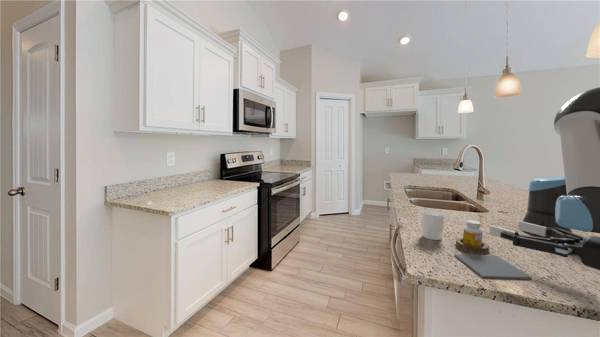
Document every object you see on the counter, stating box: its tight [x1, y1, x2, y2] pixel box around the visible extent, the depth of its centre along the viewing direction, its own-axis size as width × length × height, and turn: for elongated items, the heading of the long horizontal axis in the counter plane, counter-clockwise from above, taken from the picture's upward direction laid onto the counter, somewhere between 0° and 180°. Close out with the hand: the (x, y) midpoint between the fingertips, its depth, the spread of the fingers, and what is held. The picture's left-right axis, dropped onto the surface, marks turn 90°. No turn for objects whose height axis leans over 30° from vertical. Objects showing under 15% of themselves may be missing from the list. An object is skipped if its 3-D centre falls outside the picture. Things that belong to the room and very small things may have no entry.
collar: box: [455, 237, 490, 255], centre depth 84 cm, size 9×9×2 cm
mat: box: [454, 253, 533, 280], centre depth 71 cm, size 13×13×1 cm
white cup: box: [421, 209, 446, 241], centre depth 94 cm, size 8×8×10 cm
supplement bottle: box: [462, 219, 483, 247], centre depth 84 cm, size 5×5×10 cm
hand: (505, 227), depth 74 cm, fingers open, 13 cm apart
